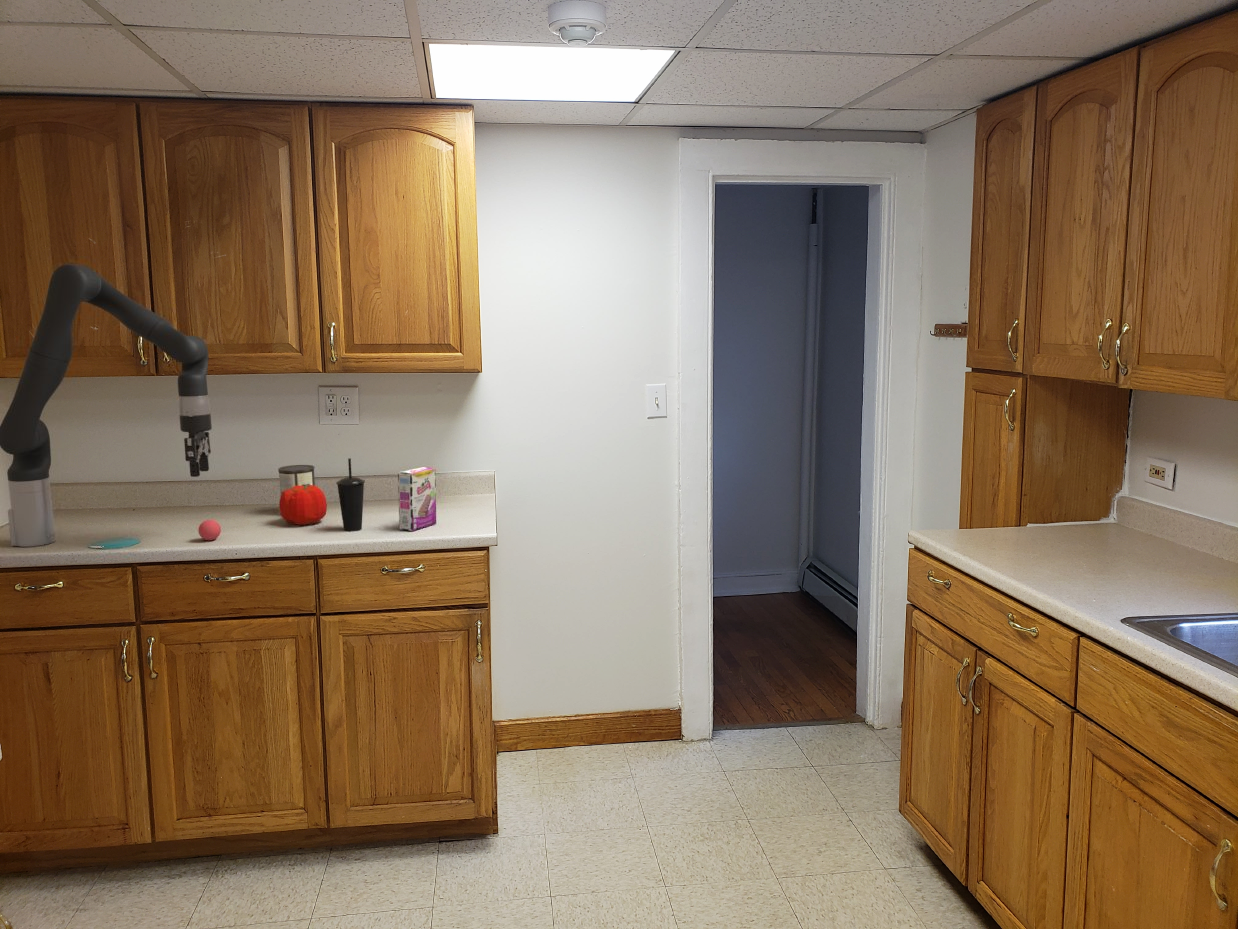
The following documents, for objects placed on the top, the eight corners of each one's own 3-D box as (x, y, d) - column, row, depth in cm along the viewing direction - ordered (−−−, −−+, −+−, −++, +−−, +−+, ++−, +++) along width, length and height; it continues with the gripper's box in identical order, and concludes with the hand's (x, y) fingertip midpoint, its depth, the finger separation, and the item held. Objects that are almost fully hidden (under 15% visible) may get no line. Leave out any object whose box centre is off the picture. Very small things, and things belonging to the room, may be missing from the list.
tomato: (287, 518, 280) (285, 483, 278) (333, 517, 280) (331, 482, 279) (273, 528, 266) (271, 491, 264) (321, 527, 267) (319, 491, 265)
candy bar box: (413, 532, 261) (411, 473, 258) (398, 530, 263) (396, 472, 261) (438, 524, 271) (436, 467, 268) (423, 522, 273) (421, 466, 271)
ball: (196, 543, 250) (195, 522, 249) (202, 538, 255) (201, 518, 254) (218, 542, 250) (217, 521, 249) (224, 537, 256) (222, 517, 255)
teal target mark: (80, 550, 243) (80, 549, 243) (99, 539, 254) (99, 538, 254) (130, 548, 244) (130, 547, 244) (146, 537, 256) (146, 536, 256)
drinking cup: (365, 531, 261) (362, 460, 258) (337, 533, 260) (333, 461, 257) (368, 525, 269) (365, 456, 266) (340, 527, 268) (336, 456, 264)
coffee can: (294, 509, 293) (291, 464, 290) (323, 510, 290) (321, 465, 288) (273, 516, 283) (270, 469, 281) (304, 517, 280) (301, 470, 278)
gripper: (187, 410, 255) (192, 470, 257) (171, 416, 241) (176, 479, 243) (217, 409, 256) (221, 469, 258) (202, 415, 242) (207, 477, 244)
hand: (200, 473), depth 251 cm, fingers open, 8 cm apart
